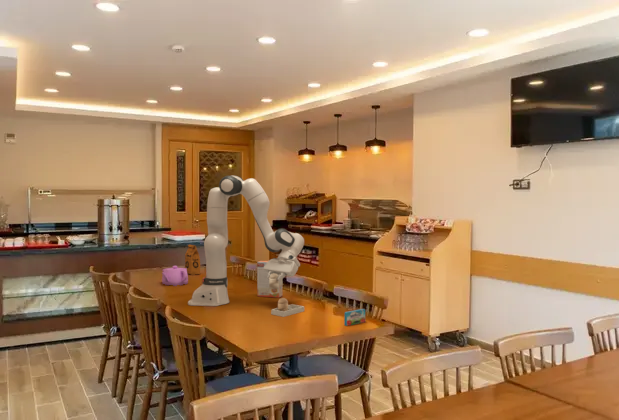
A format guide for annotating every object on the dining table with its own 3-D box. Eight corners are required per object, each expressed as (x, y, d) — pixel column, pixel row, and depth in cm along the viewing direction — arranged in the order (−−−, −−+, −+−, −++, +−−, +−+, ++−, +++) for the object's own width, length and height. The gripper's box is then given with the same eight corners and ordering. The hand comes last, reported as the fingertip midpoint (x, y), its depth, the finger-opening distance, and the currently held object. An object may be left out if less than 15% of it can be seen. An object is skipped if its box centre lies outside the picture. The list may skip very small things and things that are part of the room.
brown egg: (278, 315, 251) (278, 299, 251) (277, 313, 256) (277, 297, 256) (288, 315, 252) (288, 299, 252) (287, 312, 257) (287, 297, 257)
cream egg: (269, 289, 265) (269, 274, 265) (269, 287, 270) (269, 272, 270) (278, 289, 266) (279, 274, 265) (278, 287, 271) (278, 272, 270)
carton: (283, 318, 248) (283, 311, 248) (271, 315, 253) (271, 309, 253) (304, 312, 260) (304, 306, 260) (292, 310, 266) (292, 304, 266)
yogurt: (346, 326, 234) (346, 312, 234) (344, 325, 235) (344, 312, 235) (365, 322, 241) (365, 309, 241) (363, 321, 242) (363, 308, 242)
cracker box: (282, 296, 301) (283, 261, 301) (279, 298, 296) (279, 262, 295) (261, 294, 306) (261, 260, 305) (257, 296, 300) (257, 261, 300)
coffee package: (189, 275, 377) (189, 246, 376) (183, 273, 387) (183, 244, 386) (202, 274, 382) (202, 245, 382) (196, 272, 393) (195, 243, 392)
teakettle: (188, 285, 335) (188, 267, 335) (161, 286, 331) (161, 267, 331) (188, 281, 352) (187, 263, 351) (162, 282, 348) (162, 264, 347)
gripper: (269, 254, 279) (256, 273, 272) (297, 257, 266) (284, 278, 259) (274, 261, 283) (262, 281, 275) (302, 265, 270) (290, 285, 263)
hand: (273, 279), depth 267 cm, fingers closed on cream egg, 5 cm apart
